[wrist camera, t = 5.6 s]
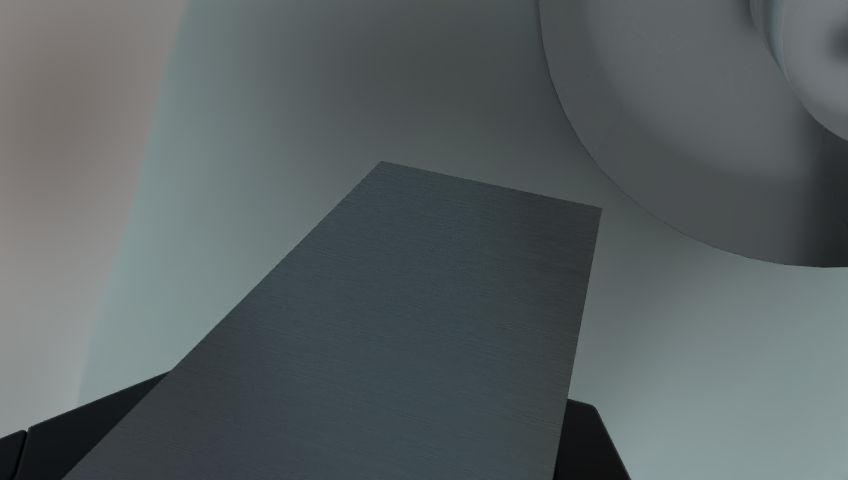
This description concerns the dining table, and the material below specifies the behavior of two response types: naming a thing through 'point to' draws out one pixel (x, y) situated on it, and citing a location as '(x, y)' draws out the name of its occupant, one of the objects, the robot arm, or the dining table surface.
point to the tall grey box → (382, 347)
